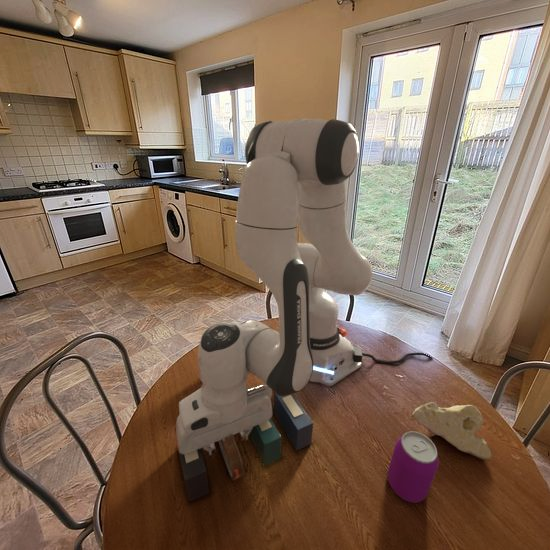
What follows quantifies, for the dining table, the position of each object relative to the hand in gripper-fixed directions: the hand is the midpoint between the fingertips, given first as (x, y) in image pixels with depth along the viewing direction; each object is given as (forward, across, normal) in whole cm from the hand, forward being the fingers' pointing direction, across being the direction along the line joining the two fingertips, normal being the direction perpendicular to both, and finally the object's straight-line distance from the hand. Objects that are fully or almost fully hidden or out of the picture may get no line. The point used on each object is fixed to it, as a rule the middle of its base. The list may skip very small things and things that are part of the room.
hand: (228, 445), depth 64 cm
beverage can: (+3, -31, +22) cm, 38 cm away
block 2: (+3, -8, 0) cm, 9 cm away
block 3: (+3, -16, 0) cm, 16 cm away
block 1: (+3, +8, 0) cm, 9 cm away
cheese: (+3, -47, +19) cm, 51 cm away
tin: (+3, 0, 0) cm, 3 cm away
